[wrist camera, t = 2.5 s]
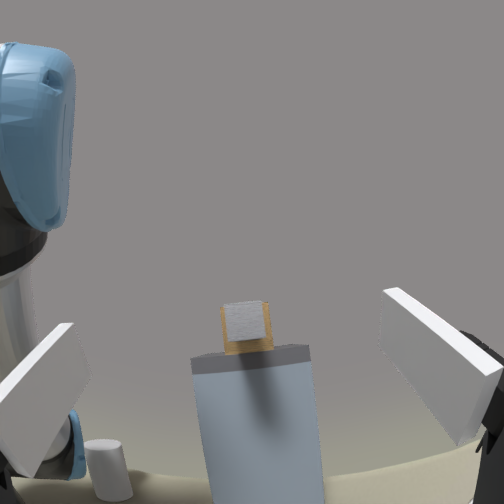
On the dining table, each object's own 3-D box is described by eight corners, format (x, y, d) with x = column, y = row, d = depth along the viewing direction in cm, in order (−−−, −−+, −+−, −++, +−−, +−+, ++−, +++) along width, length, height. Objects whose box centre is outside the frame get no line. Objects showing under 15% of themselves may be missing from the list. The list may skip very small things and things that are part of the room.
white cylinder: (128, 484, 47) (117, 437, 51) (137, 499, 41) (124, 448, 44) (93, 487, 43) (81, 440, 46) (98, 503, 36) (84, 451, 40)
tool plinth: (326, 539, 26) (308, 344, 35) (225, 551, 26) (190, 358, 34) (307, 494, 42) (291, 344, 50) (231, 503, 41) (208, 353, 50)
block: (287, 353, 23) (277, 279, 25) (211, 362, 23) (203, 287, 25) (269, 347, 46) (264, 310, 48) (230, 352, 46) (226, 314, 48)
